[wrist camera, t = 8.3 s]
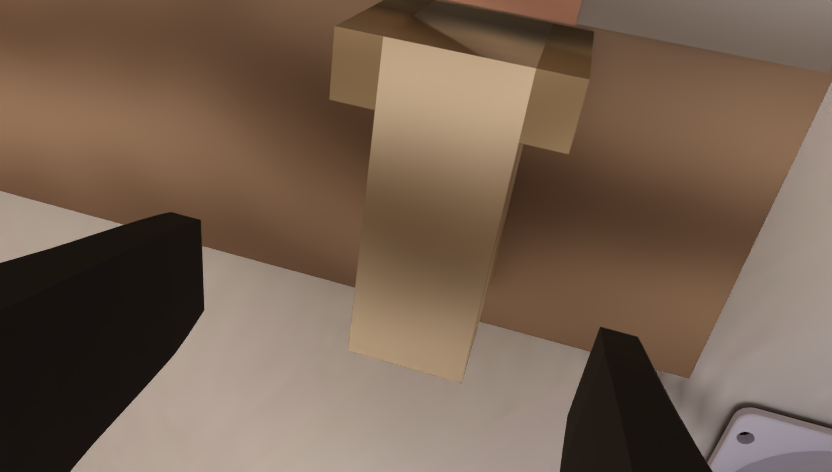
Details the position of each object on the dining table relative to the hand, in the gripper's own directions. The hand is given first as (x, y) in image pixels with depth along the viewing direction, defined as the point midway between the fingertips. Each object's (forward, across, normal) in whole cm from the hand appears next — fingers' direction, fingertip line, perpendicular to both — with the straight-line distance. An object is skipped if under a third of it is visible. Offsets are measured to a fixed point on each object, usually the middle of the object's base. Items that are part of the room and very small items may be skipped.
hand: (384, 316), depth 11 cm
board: (+9, +6, 0) cm, 11 cm away
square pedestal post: (+8, 0, 0) cm, 8 cm away
